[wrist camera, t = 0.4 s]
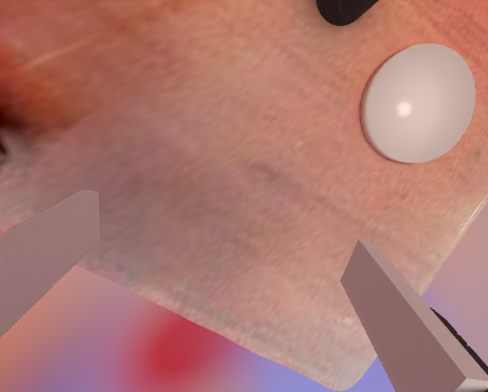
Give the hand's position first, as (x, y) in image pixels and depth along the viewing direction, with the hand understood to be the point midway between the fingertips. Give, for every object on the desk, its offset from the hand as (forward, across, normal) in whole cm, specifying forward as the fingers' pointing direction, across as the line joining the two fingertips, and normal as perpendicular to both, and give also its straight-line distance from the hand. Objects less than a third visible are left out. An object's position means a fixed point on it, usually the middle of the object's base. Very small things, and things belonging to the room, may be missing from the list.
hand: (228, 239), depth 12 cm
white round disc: (+28, +24, +10) cm, 38 cm away
